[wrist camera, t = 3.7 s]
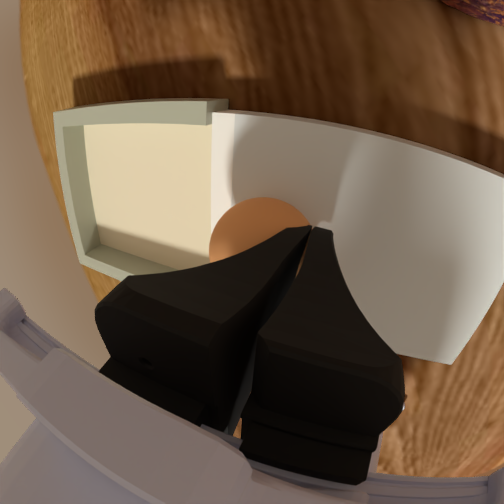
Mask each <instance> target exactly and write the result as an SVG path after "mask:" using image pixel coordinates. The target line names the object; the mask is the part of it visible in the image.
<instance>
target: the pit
mask: <svg viewBox="0 0 504 504" xmlns="http://www.w3.org/2000/svg"><path fill="white" fill-rule="evenodd" d="M228 104H229V99H214V98H165V99H143V100H129V101H117V102H107V103H98V104H91V105H83V106H77V107H72V108H68V109H64V110H60V111H57V112H53V117H54V129H55V140H56V149H57V157H58V164H59V171H60V177H61V183H62V189H63V194H64V199H65V204H66V209H67V214H68V219H69V223H70V227H71V231H72V235H73V239H74V243H75V247H76V251H77V254H78V258H79V261H80V263H81V264H83V265H85V266H87V267H90V268H92V269H94V270H96V271H99V272H101V273H103V274H106V275H108V276H110V277H113V278H115V279H117V280H120V281H123V280H124V279H125V278H126V277H127V276H129V275H143V274H155V273H164V272H171V271H177V270H183V269H188V268H193V267H197V266H201V265H204V264H208V263H210V260H209V243H210V239H211V144H212V112H217V111H223V110H228Z"/></svg>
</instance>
